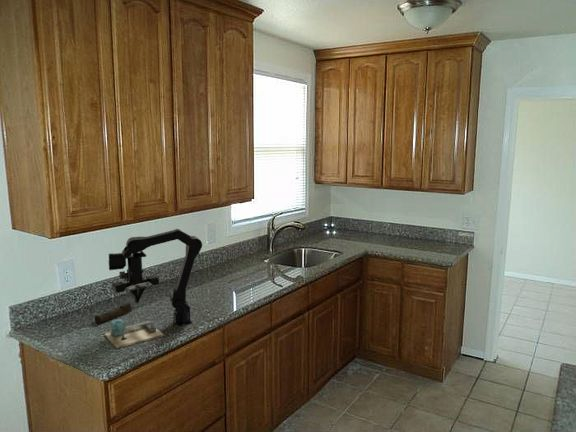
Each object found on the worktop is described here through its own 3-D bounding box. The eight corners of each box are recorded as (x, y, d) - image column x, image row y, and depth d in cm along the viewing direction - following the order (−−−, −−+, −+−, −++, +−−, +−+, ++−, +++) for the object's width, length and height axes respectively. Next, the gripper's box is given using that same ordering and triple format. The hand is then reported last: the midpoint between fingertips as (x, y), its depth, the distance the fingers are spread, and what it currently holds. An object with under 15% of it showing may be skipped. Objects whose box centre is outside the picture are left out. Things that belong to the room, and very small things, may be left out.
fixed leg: (150, 326, 195) (150, 318, 194) (156, 331, 190) (155, 323, 189) (145, 328, 193) (144, 319, 193) (150, 332, 189) (150, 324, 188)
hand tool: (99, 325, 198) (99, 315, 197) (94, 323, 200) (93, 313, 199) (135, 312, 213) (135, 303, 213) (130, 310, 216) (129, 301, 215)
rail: (149, 325, 196) (149, 320, 196) (151, 326, 195) (151, 322, 195) (109, 335, 186) (109, 330, 186) (111, 336, 184) (110, 332, 184)
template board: (149, 324, 199) (149, 322, 199) (163, 336, 187) (163, 334, 187) (105, 335, 187) (105, 333, 187) (117, 348, 176) (117, 346, 176)
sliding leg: (121, 330, 190) (120, 318, 189) (128, 337, 183) (127, 325, 182) (111, 332, 188) (110, 321, 187) (118, 339, 181) (117, 328, 180)
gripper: (148, 259, 202) (150, 293, 204) (106, 267, 190) (108, 302, 193) (159, 265, 193) (160, 299, 196) (115, 273, 181) (117, 310, 184)
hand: (137, 302), depth 192 cm, fingers closed
